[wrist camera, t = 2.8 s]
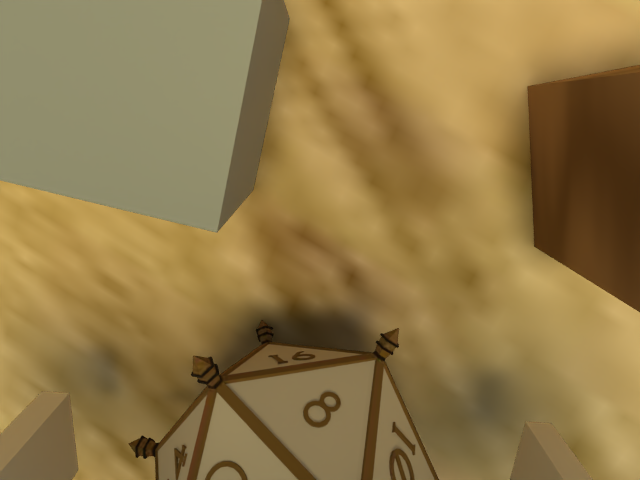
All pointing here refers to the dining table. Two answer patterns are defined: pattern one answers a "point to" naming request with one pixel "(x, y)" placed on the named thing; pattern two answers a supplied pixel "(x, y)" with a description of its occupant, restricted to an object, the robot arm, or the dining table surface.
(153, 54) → the slate-blue block
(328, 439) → the game die
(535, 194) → the walnut block
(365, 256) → the dining table surface
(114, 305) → the dining table surface
